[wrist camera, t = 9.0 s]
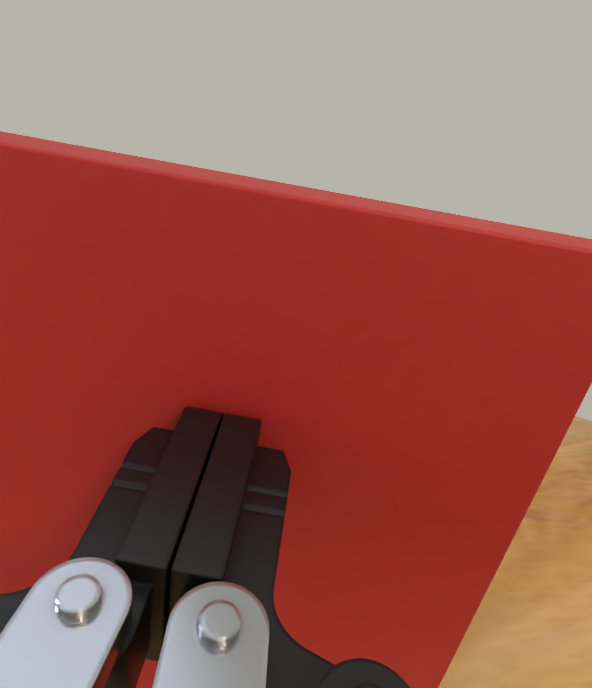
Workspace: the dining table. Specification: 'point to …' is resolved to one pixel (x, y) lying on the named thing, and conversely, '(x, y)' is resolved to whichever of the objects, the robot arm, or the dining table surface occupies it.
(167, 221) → the lid
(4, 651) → the robot arm
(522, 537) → the dining table surface
